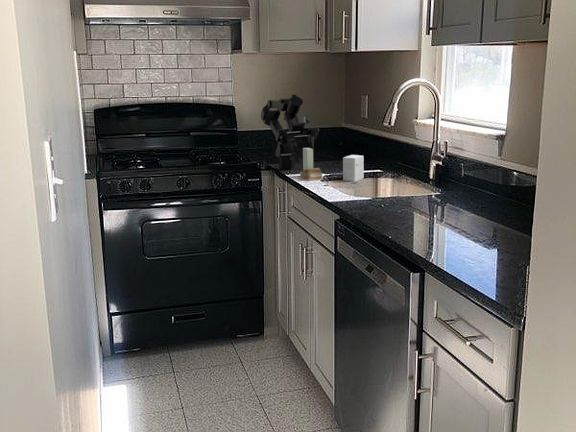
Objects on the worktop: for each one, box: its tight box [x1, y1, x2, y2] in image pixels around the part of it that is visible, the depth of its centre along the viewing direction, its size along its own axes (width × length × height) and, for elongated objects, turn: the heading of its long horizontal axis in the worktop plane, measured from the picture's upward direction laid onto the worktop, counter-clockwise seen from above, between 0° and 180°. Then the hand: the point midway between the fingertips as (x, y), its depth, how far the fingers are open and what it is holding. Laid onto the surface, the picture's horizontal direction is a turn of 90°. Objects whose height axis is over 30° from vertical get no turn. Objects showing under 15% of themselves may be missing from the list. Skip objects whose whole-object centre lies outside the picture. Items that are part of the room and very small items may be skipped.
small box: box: [342, 154, 365, 184], centre depth 266 cm, size 8×6×10 cm
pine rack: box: [297, 167, 324, 182], centre depth 272 cm, size 12×7×5 cm, turn 21°
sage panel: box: [302, 147, 314, 170], centre depth 273 cm, size 5×3×12 cm, turn 21°
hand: (302, 149), depth 276 cm, fingers open, 9 cm apart
